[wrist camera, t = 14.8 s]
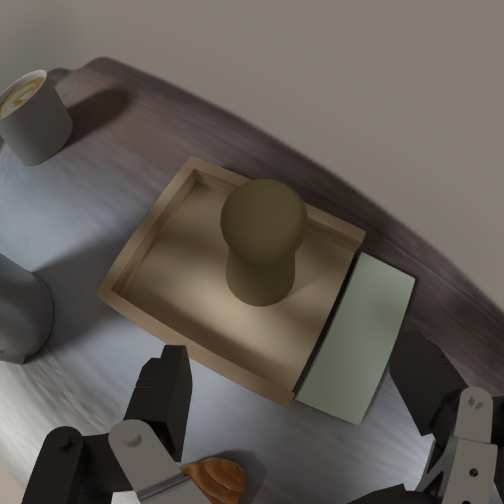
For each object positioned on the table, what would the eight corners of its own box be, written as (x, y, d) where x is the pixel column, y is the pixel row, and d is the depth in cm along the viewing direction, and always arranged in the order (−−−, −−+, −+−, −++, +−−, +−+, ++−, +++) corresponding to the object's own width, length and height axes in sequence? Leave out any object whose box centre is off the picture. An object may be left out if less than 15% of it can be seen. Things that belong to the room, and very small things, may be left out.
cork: (230, 311, 26) (215, 265, 15) (221, 246, 28) (205, 169, 18) (301, 300, 26) (332, 247, 16) (287, 236, 28) (305, 158, 18)
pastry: (209, 435, 23) (203, 445, 19) (266, 484, 21) (268, 500, 17) (139, 491, 20) (124, 504, 17) (192, 537, 18) (185, 556, 15)
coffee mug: (85, 123, 37) (59, 71, 28) (38, 174, 34) (1, 127, 24) (44, 108, 40) (21, 66, 30) (4, 150, 36) (-25, 111, 27)
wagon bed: (283, 403, 24) (287, 407, 20) (110, 304, 27) (93, 294, 24) (354, 247, 29) (366, 231, 26) (196, 176, 32) (191, 155, 29)
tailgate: (293, 398, 24) (354, 423, 23) (295, 399, 23) (358, 425, 22) (358, 256, 29) (409, 282, 28) (361, 251, 28) (415, 278, 27)
